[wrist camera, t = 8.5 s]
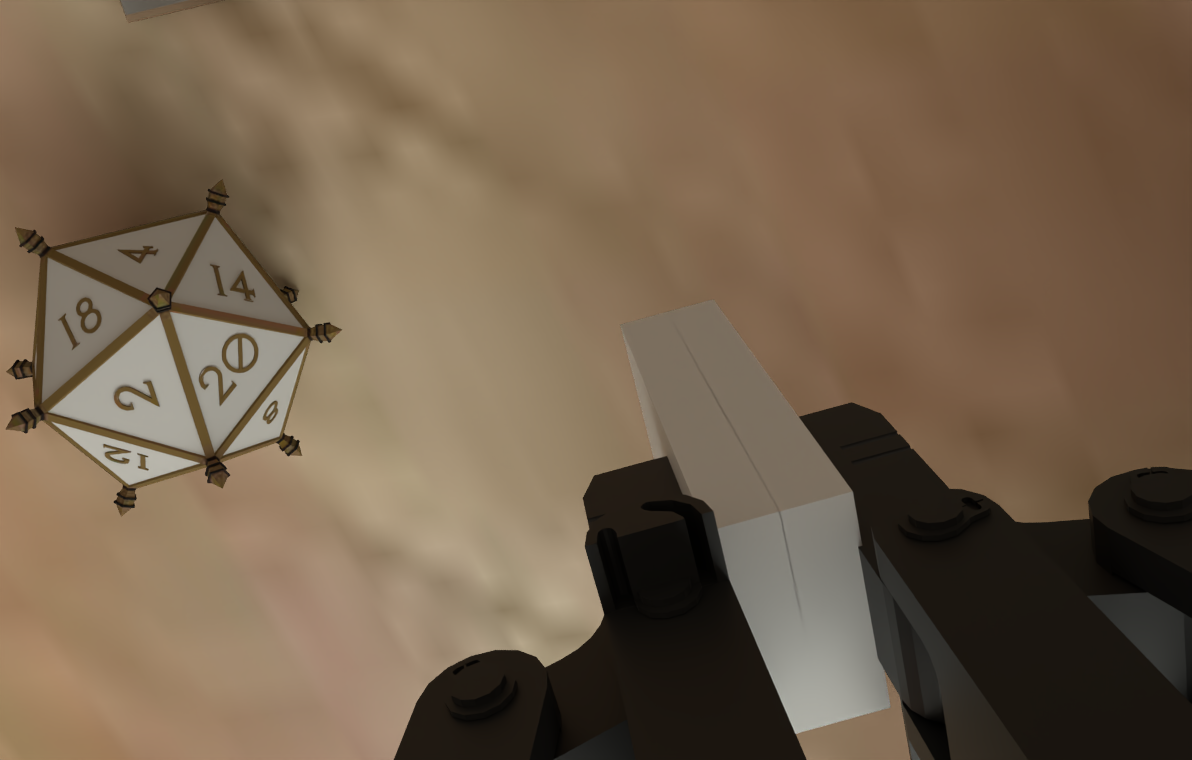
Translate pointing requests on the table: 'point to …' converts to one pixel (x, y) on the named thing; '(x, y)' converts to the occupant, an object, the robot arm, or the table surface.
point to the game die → (163, 349)
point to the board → (157, 7)
